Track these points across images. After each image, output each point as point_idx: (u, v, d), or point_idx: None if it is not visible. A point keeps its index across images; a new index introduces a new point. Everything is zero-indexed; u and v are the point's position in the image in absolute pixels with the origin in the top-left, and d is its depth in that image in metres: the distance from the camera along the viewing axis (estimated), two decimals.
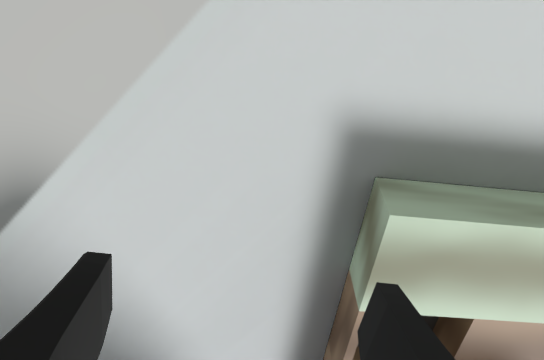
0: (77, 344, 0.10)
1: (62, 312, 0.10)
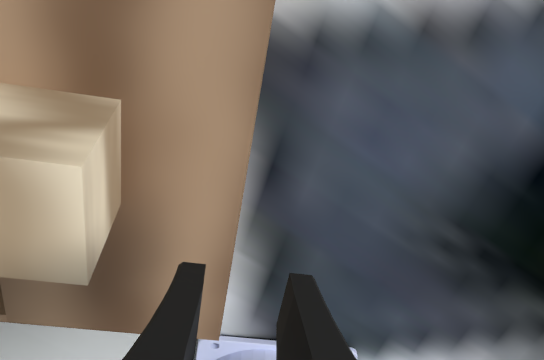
0: (188, 353, 0.11)
1: (179, 323, 0.10)
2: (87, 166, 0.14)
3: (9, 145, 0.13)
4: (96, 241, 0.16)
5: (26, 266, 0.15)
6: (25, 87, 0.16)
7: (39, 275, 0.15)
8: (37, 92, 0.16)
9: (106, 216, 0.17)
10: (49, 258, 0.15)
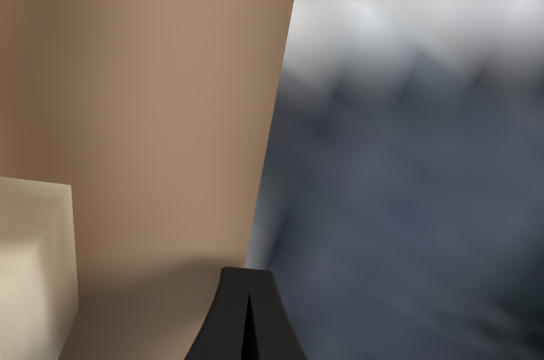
0: None
1: (232, 327, 0.10)
2: (4, 314, 0.09)
3: None
4: None
5: None
6: None
7: None
8: None
9: (51, 344, 0.12)
10: None
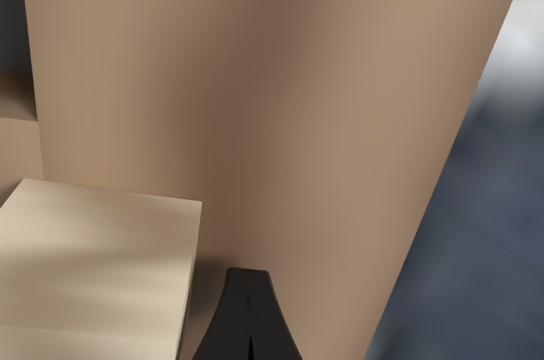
0: None
1: (238, 328, 0.10)
2: (179, 331, 0.09)
3: (68, 306, 0.09)
4: None
5: None
6: (77, 187, 0.12)
7: None
8: (94, 195, 0.12)
9: (180, 356, 0.13)
10: None
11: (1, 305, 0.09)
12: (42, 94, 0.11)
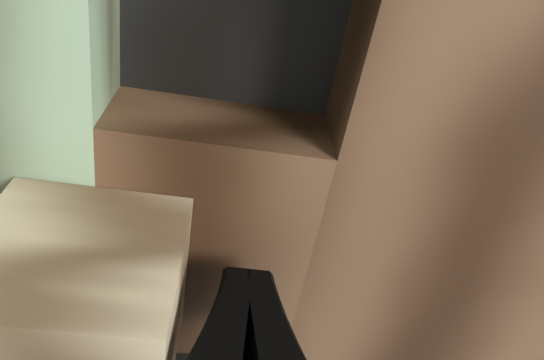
0: None
1: (233, 328, 0.10)
2: (169, 328, 0.09)
3: (58, 305, 0.09)
4: None
5: None
6: (67, 185, 0.12)
7: None
8: (84, 193, 0.12)
9: (174, 353, 0.13)
10: None
11: None
12: (351, 136, 0.12)
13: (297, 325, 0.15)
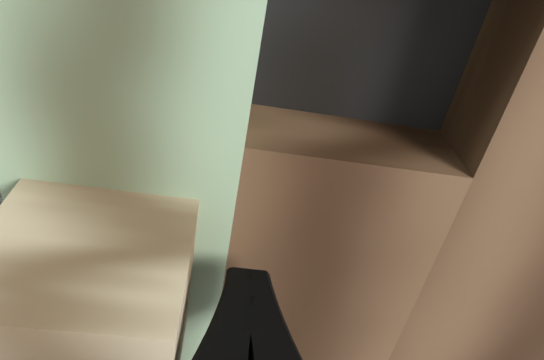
0: None
1: (238, 328, 0.10)
2: (178, 329, 0.09)
3: (67, 305, 0.09)
4: None
5: None
6: (74, 186, 0.12)
7: None
8: (91, 194, 0.12)
9: (180, 354, 0.13)
10: None
11: (0, 305, 0.09)
12: (491, 155, 0.12)
13: (405, 335, 0.16)
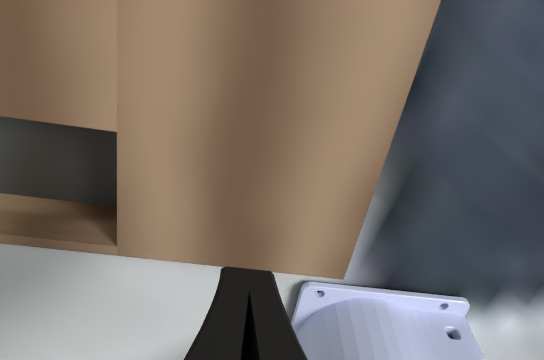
0: None
1: (232, 327, 0.10)
2: None
3: None
4: None
5: None
6: None
7: None
8: None
9: None
10: None
11: None
12: None
13: (122, 85, 0.16)
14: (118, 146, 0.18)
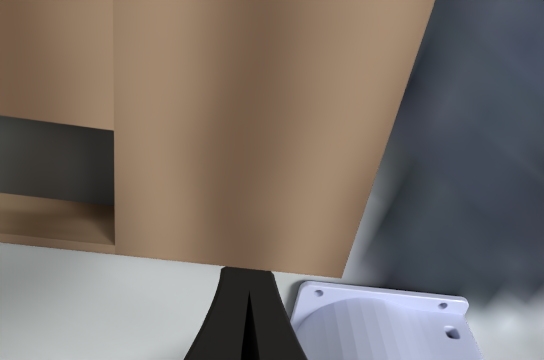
0: None
1: (232, 327, 0.10)
2: None
3: None
4: None
5: None
6: None
7: None
8: None
9: None
10: None
11: None
12: None
13: (118, 83, 0.16)
14: (115, 145, 0.18)
